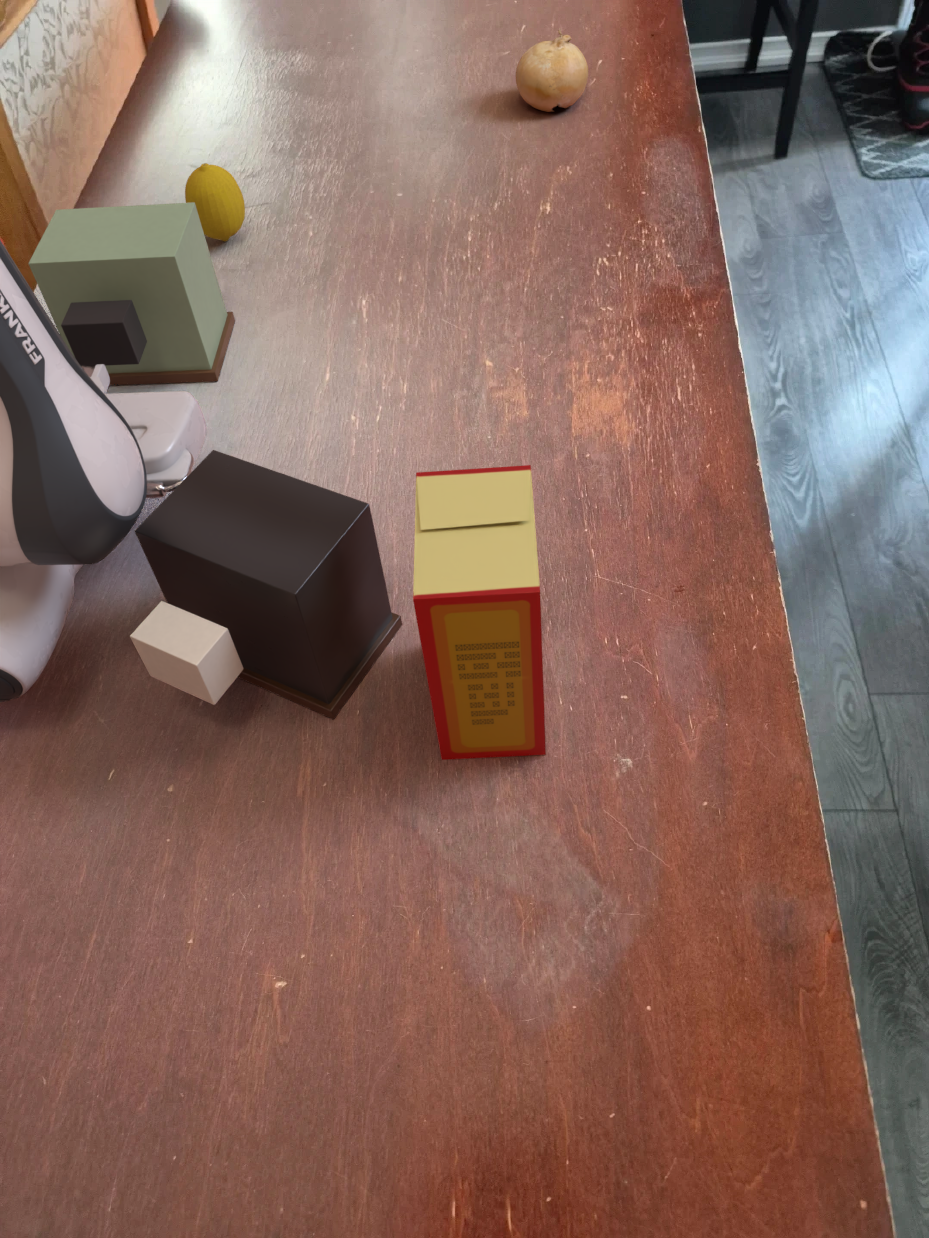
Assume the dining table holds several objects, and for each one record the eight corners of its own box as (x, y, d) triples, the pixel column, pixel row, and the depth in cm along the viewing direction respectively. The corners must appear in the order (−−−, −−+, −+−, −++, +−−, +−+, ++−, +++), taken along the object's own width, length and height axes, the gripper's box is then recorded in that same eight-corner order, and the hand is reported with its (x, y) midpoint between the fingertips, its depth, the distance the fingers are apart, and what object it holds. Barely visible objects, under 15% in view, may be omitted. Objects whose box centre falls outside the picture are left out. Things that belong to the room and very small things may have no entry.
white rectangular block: (214, 705, 64) (196, 665, 60) (149, 676, 65) (128, 635, 62) (244, 669, 65) (227, 628, 62) (180, 641, 67) (161, 600, 64)
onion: (577, 123, 117) (577, 55, 111) (508, 117, 119) (504, 51, 113) (594, 89, 121) (595, 23, 116) (527, 84, 123) (525, 19, 118)
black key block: (333, 720, 69) (297, 601, 60) (180, 652, 74) (124, 533, 65) (402, 624, 74) (378, 501, 65) (254, 566, 79) (212, 443, 69)
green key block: (217, 381, 93) (178, 259, 84) (75, 387, 94) (21, 266, 85) (235, 320, 98) (200, 199, 89) (101, 326, 100) (52, 207, 90)
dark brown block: (139, 364, 85) (122, 322, 82) (78, 367, 86) (60, 325, 83) (147, 341, 87) (132, 299, 84) (88, 344, 88) (70, 302, 85)
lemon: (189, 254, 106) (166, 178, 100) (210, 224, 109) (189, 148, 103) (241, 258, 105) (220, 181, 99) (260, 227, 108) (242, 151, 102)
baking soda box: (545, 754, 67) (539, 587, 54) (441, 759, 67) (412, 594, 55) (537, 635, 73) (530, 460, 60) (441, 640, 73) (415, 467, 61)
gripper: (170, 460, 70) (210, 332, 79) (-126, 469, 72) (-55, 342, 80) (196, 527, 75) (231, 399, 84) (-82, 534, 77) (-19, 408, 85)
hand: (89, 371), depth 82 cm, fingers closed
